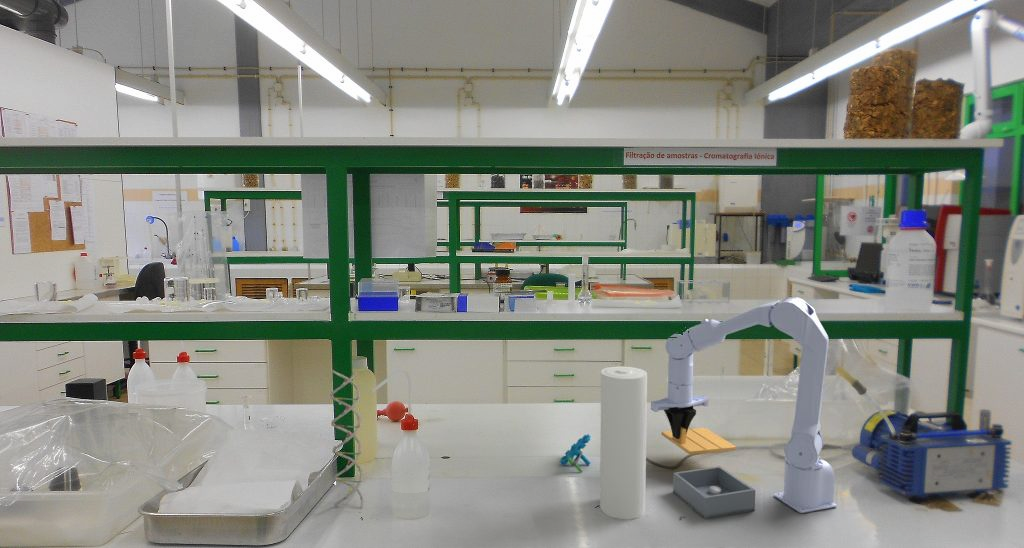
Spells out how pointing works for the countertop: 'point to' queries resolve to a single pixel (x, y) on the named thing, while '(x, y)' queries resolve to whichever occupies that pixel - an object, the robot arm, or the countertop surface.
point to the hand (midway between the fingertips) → (679, 437)
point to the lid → (699, 441)
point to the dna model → (355, 488)
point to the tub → (713, 492)
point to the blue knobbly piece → (576, 453)
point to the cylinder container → (623, 442)
